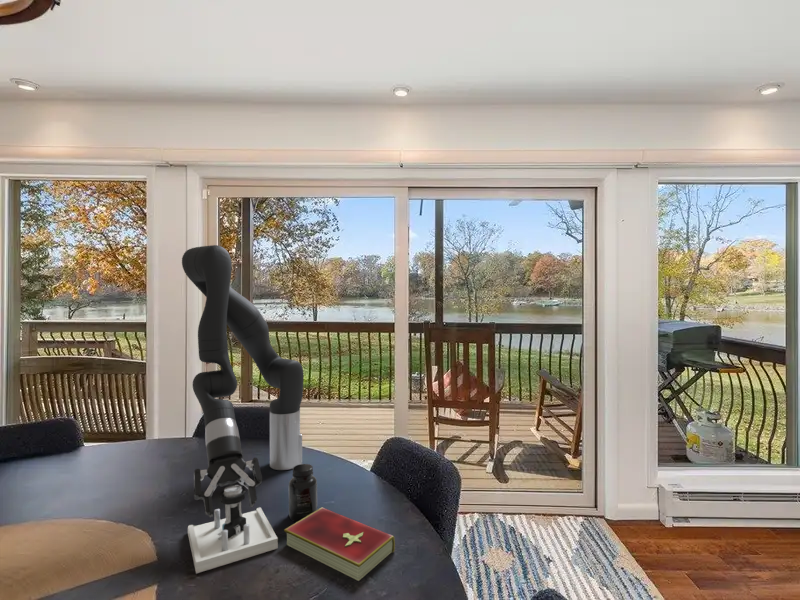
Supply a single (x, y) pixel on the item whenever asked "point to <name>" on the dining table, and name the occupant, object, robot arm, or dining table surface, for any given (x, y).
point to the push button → (233, 509)
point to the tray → (230, 541)
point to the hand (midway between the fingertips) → (232, 510)
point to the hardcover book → (340, 542)
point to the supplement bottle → (302, 492)
